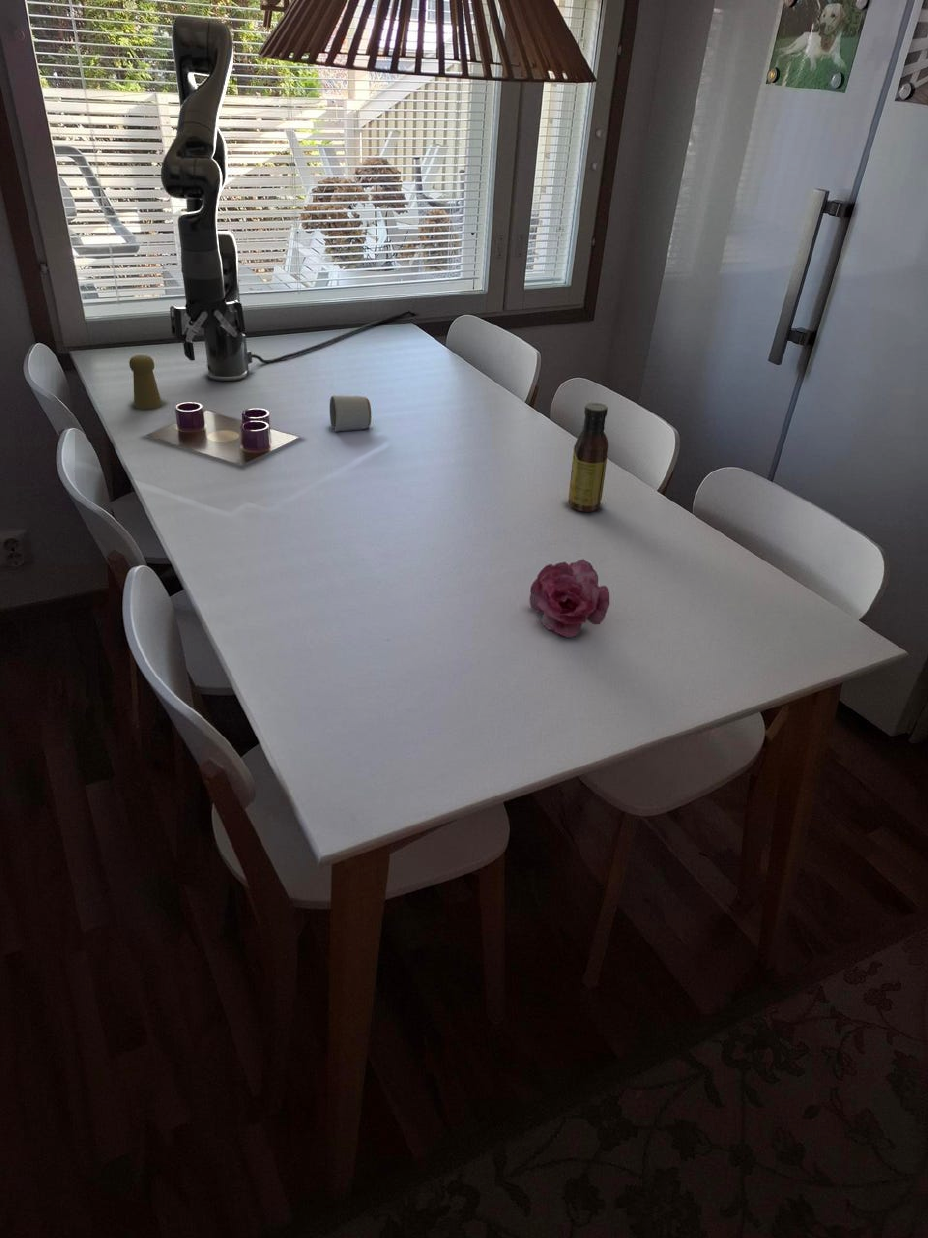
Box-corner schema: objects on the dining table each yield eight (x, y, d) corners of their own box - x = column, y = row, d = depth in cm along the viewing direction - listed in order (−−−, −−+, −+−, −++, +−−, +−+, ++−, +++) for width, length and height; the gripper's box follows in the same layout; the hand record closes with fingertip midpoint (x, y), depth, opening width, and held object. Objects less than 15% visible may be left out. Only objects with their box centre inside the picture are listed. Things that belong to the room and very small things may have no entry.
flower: (574, 660, 126) (544, 619, 120) (542, 629, 134) (512, 589, 128) (633, 610, 127) (605, 567, 120) (597, 582, 134) (569, 540, 128)
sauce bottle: (581, 496, 166) (595, 396, 155) (607, 507, 162) (623, 406, 151) (559, 505, 162) (572, 404, 151) (585, 517, 159) (600, 414, 147)
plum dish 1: (205, 421, 186) (203, 401, 184) (204, 431, 182) (201, 411, 179) (178, 422, 185) (176, 402, 183) (176, 431, 181) (173, 411, 178)
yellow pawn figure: (157, 410, 192) (149, 361, 186) (130, 408, 192) (122, 359, 186) (165, 400, 197) (158, 352, 191) (139, 399, 197) (131, 351, 191)
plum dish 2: (255, 426, 185) (254, 406, 183) (276, 432, 183) (274, 412, 181) (238, 434, 181) (236, 414, 179) (258, 440, 179) (257, 420, 177)
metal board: (207, 413, 192) (207, 410, 192) (299, 439, 182) (299, 437, 182) (146, 437, 179) (145, 435, 178) (241, 468, 169) (241, 465, 168)
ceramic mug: (373, 433, 187) (372, 399, 182) (336, 436, 184) (335, 402, 180) (361, 417, 195) (360, 384, 191) (325, 420, 192) (324, 386, 188)
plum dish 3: (254, 438, 180) (253, 418, 177) (275, 444, 178) (274, 424, 175) (236, 447, 176) (234, 426, 173) (257, 453, 173) (256, 433, 171)
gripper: (173, 280, 159) (184, 366, 168) (245, 273, 166) (252, 357, 175) (159, 271, 164) (171, 356, 173) (230, 266, 171) (237, 347, 180)
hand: (212, 356), depth 174 cm, fingers open, 8 cm apart
